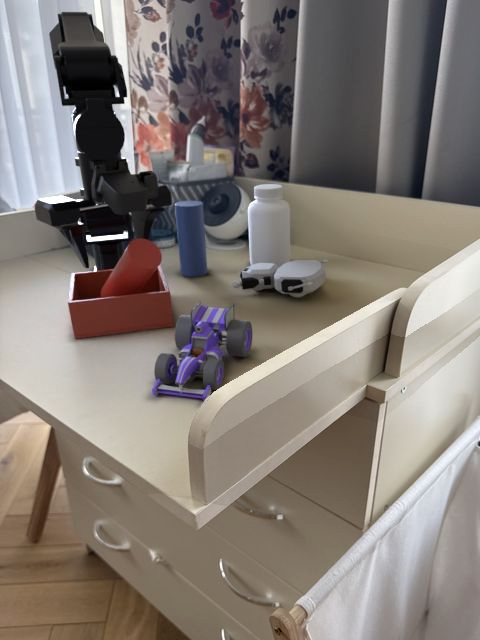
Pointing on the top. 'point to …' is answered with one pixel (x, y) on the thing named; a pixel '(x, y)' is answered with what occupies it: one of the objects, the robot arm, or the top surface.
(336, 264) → the top surface
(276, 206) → the pill bottle
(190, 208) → the blue pin
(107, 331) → the red bin
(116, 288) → the red pin
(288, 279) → the robot toy
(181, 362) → the toy race car
